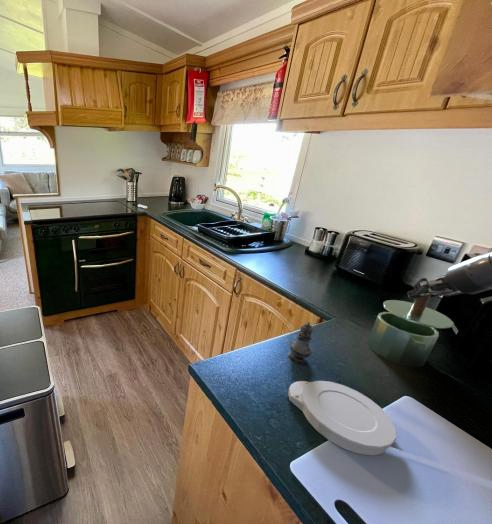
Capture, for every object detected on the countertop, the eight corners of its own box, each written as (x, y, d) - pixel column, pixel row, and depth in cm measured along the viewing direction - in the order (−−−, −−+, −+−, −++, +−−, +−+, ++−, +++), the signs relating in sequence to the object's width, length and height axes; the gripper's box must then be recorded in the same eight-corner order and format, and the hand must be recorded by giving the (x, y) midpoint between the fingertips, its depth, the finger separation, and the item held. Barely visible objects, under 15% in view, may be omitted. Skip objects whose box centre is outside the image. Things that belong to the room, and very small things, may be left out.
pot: (408, 343, 94) (421, 315, 91) (437, 380, 78) (455, 348, 74) (359, 331, 99) (369, 304, 95) (377, 365, 82) (390, 333, 79)
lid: (303, 373, 77) (305, 364, 76) (398, 425, 63) (403, 415, 62) (273, 406, 66) (276, 396, 65) (381, 477, 52) (387, 465, 51)
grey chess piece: (283, 357, 83) (293, 321, 79) (290, 348, 87) (301, 314, 83) (305, 367, 79) (317, 330, 75) (312, 358, 83) (323, 322, 79)
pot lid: (434, 310, 85) (447, 282, 82) (464, 336, 72) (481, 304, 69) (375, 299, 90) (385, 272, 87) (392, 321, 77) (405, 290, 74)
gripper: (459, 286, 64) (394, 307, 79) (521, 290, 64) (444, 310, 80) (446, 256, 67) (386, 282, 83) (505, 259, 67) (434, 285, 83)
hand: (415, 296), depth 81 cm, fingers closed on pot lid, 2 cm apart
